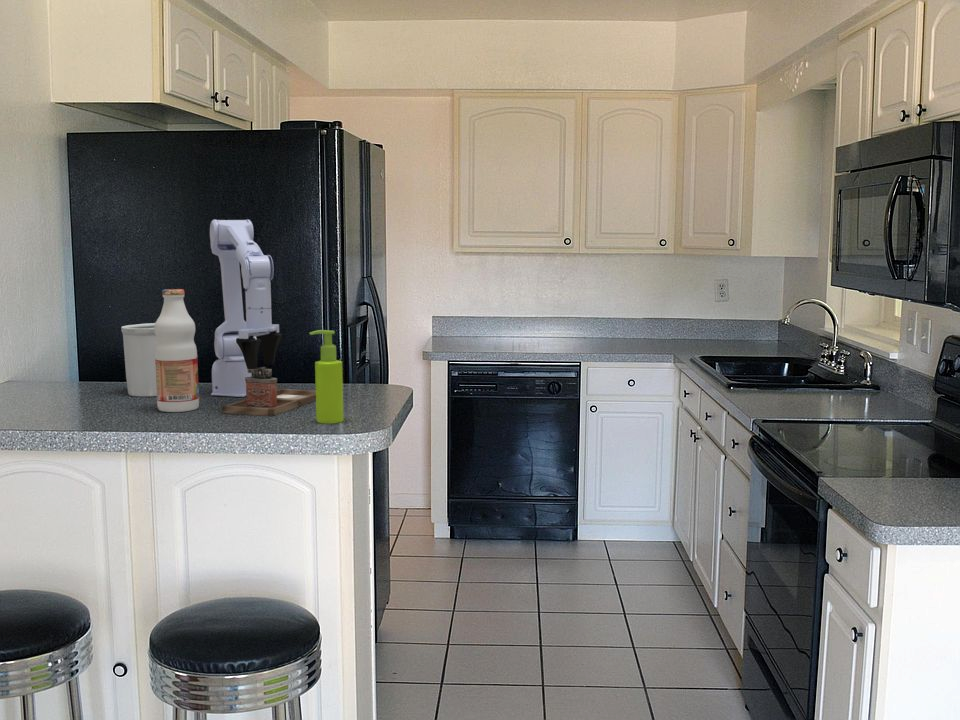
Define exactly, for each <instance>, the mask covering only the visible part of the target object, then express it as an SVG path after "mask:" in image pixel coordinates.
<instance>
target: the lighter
mask: <svg viewBox="0 0 960 720" xmlns="http://www.w3.org/2000/svg"><path fill="white" fill-rule="evenodd" d="M272 370H273V369H272V368H267V367H266V366H261V367H257V368H256V369H248V373H252V377H245V381H246V396H245V399H246V401H247V405H246V407H253V408H269V409H271V408H273V407H276V406H277V390H278V389H277V388H278V387H277V382H278V378H277V377H272V375H273V371H272Z"/></svg>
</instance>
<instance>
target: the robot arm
mask: <svg viewBox="0 0 960 720" xmlns="http://www.w3.org/2000/svg"><path fill="white" fill-rule="evenodd" d="M254 233H255V232H254V225H253V222H252V221H251V219H227V220H226V219H216V218H215V219H212V220H211V222H210V225H209V240H210V250H211V253H212V254H213V255H215V256H217V257H218V260H219V263H220V273H221V275H220V276H221V287H222V289H221V290H222V298H223V299H222V300H223V311H224V312H223V313H224V321H223V322H222V323H221V324H220V325H219V326H218V327H216V328H215V331H214V342H213V343H214V346H213V347H214V352H215V356H216V358H218V359H216V360H215V361H214V362H213V364H212V366H211V367H212V368H211V383H212V384H211V387H212V392H211V393H210V396H221V397H235V398H236V397H238V398H243V397H244V398H245V397H246V381H245V377H253V373H248V369H256V368H258V359H259V358H258V356H259V349H260V346H261V350H262V359H263V364H264V365H269V366H273V365H274V364H275V361H276V356H277V355H276V354H277V351H278V347H279V345H280V342H281V341H282V339H283V333H280V324H278V323H277V324H275V323H274V324H273V323H272V322H273V320H272V319H273V318H272V292H271V291H272V288H271V286H272V285H271V284H272V283H271V281H272V280H273V278H274V271H275V269H274V267H275V266H274V261H273V258H272V256H271V255H270V254H266V255H265V254H264V253H263V251H262V249H261V247H260V245H258V243H256V242H255V241H254V235H255V234H254ZM240 267H241V268H240ZM241 278H242V280H241ZM242 285H243V289H244V293H245V316H244V304H243V292H242ZM245 318H246V319H245ZM257 337H258V338H257Z"/></svg>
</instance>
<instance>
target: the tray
mask: <svg viewBox="0 0 960 720" xmlns="http://www.w3.org/2000/svg"><path fill="white" fill-rule="evenodd" d="M314 402H316V390H308V389H307V390H306V389H305V390H304V389H290V388H278V389H277V406H276V407H273V408H271V409H269V408H253V407H246V405H247V401H246V398H245V399H241V400H239V401H235V402H232V403H229V404H225V405H222V406H221V413H222V414H223V413H224V414H232V415H233V414H235V415H247V416H248V415H251V416H266V417H274V416H276V415H279V414H282V413H285V412H288V411H291V410H293V409H298V408H299V407H303V406H305V405H308V404H310V403H314Z"/></svg>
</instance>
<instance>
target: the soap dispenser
mask: <svg viewBox="0 0 960 720" xmlns="http://www.w3.org/2000/svg"><path fill="white" fill-rule="evenodd" d="M308 333H309V335H310V336H312V335H319V334H322V335H323V341H324V343H323V344H322V345H320V360H317V361H315V362H314V371H315V372H314V373H315V374H314V375H315V378H314V380H315V391H316V401H315V411H316V412H315V413H316V415H315V416H316V419H315V420H316V422H317V423H319V424H338V423H341V422H344V381H343V378H344V377H343V373H344V372H343V361H342V360H338V359H337V346H336V345H335V344H333V335H335V330H330V329H329V330H327V329H319V330H314V331H310V332H308Z"/></svg>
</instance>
